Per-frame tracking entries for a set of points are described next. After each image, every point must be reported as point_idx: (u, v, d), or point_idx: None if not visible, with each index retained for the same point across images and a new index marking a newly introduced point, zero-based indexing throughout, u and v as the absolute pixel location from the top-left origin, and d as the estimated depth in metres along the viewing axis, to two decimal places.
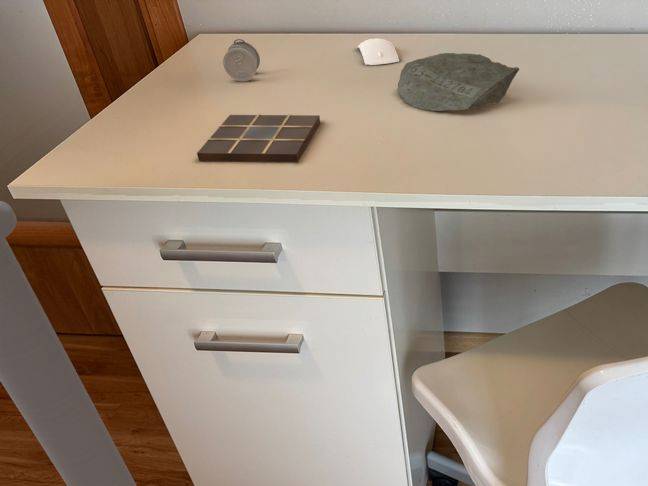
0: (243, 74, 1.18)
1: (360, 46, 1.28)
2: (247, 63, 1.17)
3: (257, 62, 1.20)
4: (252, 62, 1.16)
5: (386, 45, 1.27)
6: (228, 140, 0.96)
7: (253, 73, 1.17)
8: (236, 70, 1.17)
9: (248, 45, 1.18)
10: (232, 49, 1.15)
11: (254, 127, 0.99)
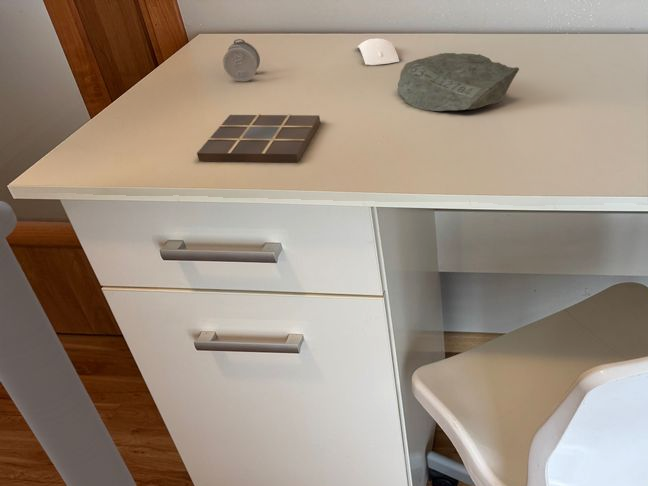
0: (243, 74, 1.18)
1: (360, 46, 1.28)
2: (247, 63, 1.17)
3: (257, 62, 1.20)
4: (252, 62, 1.16)
5: (386, 45, 1.27)
6: (228, 140, 0.96)
7: (253, 73, 1.17)
8: (236, 70, 1.17)
9: (248, 45, 1.18)
10: (232, 49, 1.15)
11: (254, 127, 0.99)
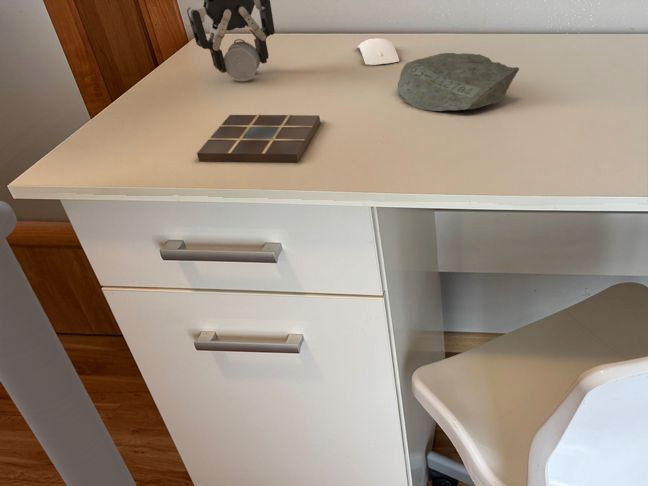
0: (243, 74, 1.18)
1: (360, 46, 1.28)
2: (247, 63, 1.17)
3: (257, 62, 1.20)
4: (252, 62, 1.16)
5: (386, 45, 1.27)
6: (228, 140, 0.96)
7: (253, 73, 1.17)
8: (236, 70, 1.17)
9: (248, 45, 1.18)
10: (232, 49, 1.15)
11: (254, 127, 0.99)
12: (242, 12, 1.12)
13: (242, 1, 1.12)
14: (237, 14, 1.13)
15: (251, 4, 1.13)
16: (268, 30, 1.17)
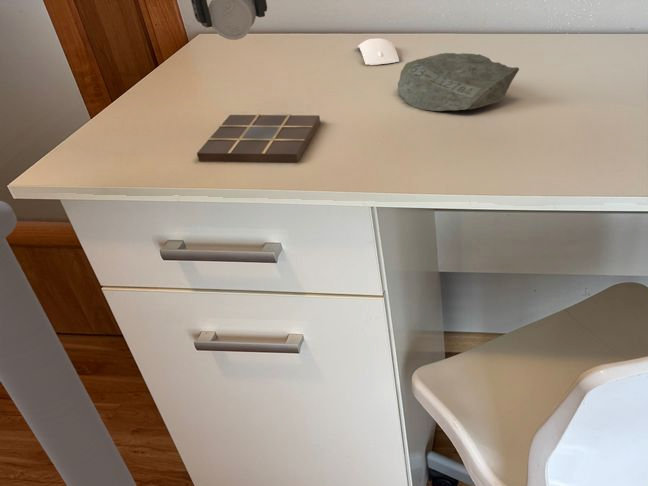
0: (233, 30, 0.90)
1: (360, 46, 1.28)
2: (239, 15, 0.89)
3: (252, 16, 0.92)
4: (246, 14, 0.89)
5: (386, 45, 1.27)
6: (228, 140, 0.96)
7: (247, 29, 0.90)
8: (225, 25, 0.89)
9: None
10: None
11: (254, 127, 0.99)
12: None
13: None
14: None
15: None
16: None
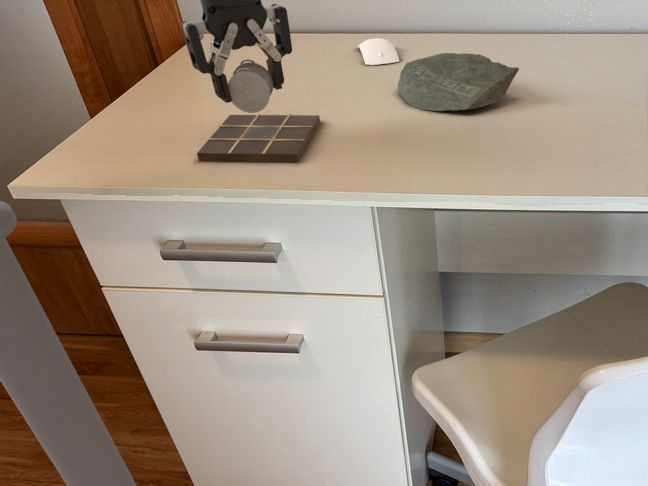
0: (252, 104, 0.93)
1: (360, 46, 1.28)
2: (257, 91, 0.92)
3: (270, 88, 0.95)
4: (264, 89, 0.92)
5: (386, 45, 1.27)
6: (228, 140, 0.96)
7: (265, 103, 0.93)
8: (244, 99, 0.92)
9: (259, 67, 0.94)
10: (239, 73, 0.90)
11: (254, 127, 0.99)
12: (252, 26, 0.87)
13: (252, 12, 0.87)
14: (245, 29, 0.88)
15: (263, 16, 0.89)
16: (284, 48, 0.92)
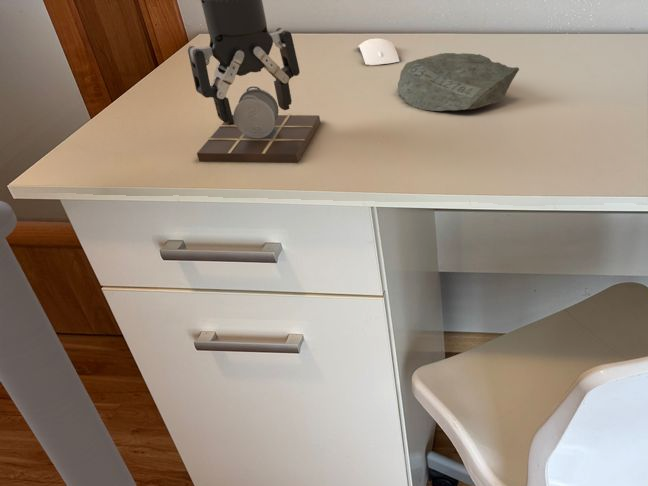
0: (258, 129, 0.95)
1: (360, 46, 1.28)
2: (263, 117, 0.94)
3: (275, 113, 0.98)
4: (269, 115, 0.94)
5: (386, 45, 1.27)
6: (228, 140, 0.96)
7: (270, 128, 0.95)
8: (250, 125, 0.95)
9: (264, 93, 0.96)
10: (245, 100, 0.92)
11: None
12: (258, 53, 0.90)
13: (258, 39, 0.89)
14: (251, 55, 0.90)
15: (269, 43, 0.91)
16: (292, 70, 0.94)
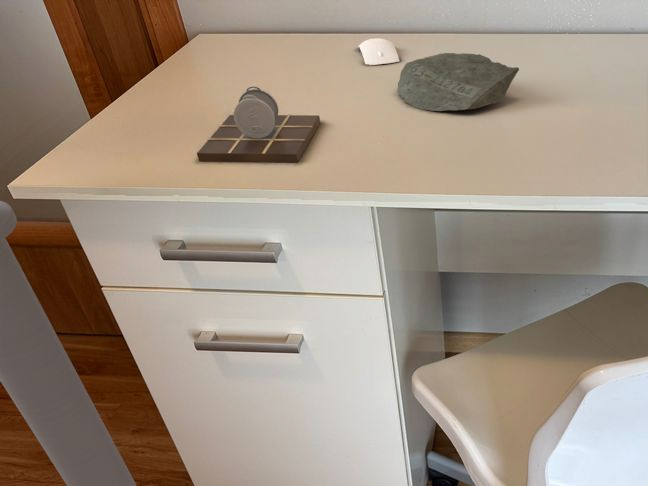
0: (258, 129, 0.95)
1: (360, 46, 1.28)
2: (263, 117, 0.94)
3: (275, 113, 0.98)
4: (269, 115, 0.94)
5: (386, 45, 1.27)
6: (228, 140, 0.96)
7: (270, 128, 0.95)
8: (250, 125, 0.95)
9: (264, 93, 0.96)
10: (245, 100, 0.92)
11: None
12: None
13: None
14: None
15: None
16: None
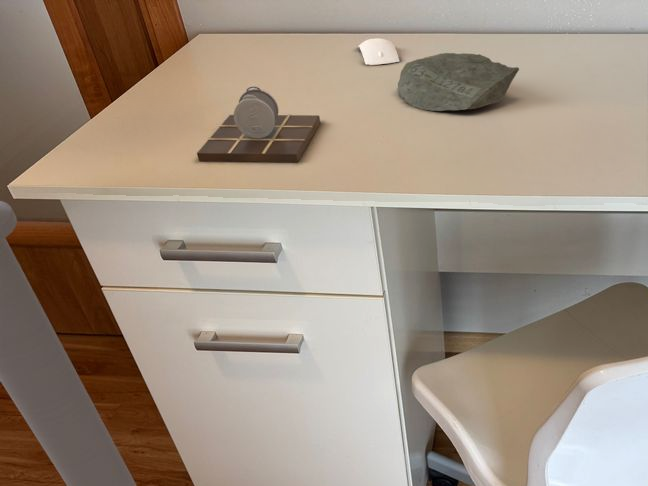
0: (258, 129, 0.95)
1: (360, 46, 1.28)
2: (263, 117, 0.94)
3: (275, 113, 0.98)
4: (269, 115, 0.94)
5: (386, 45, 1.27)
6: (228, 140, 0.96)
7: (270, 128, 0.95)
8: (250, 125, 0.95)
9: (264, 93, 0.96)
10: (245, 100, 0.92)
11: None
12: None
13: None
14: None
15: None
16: None
